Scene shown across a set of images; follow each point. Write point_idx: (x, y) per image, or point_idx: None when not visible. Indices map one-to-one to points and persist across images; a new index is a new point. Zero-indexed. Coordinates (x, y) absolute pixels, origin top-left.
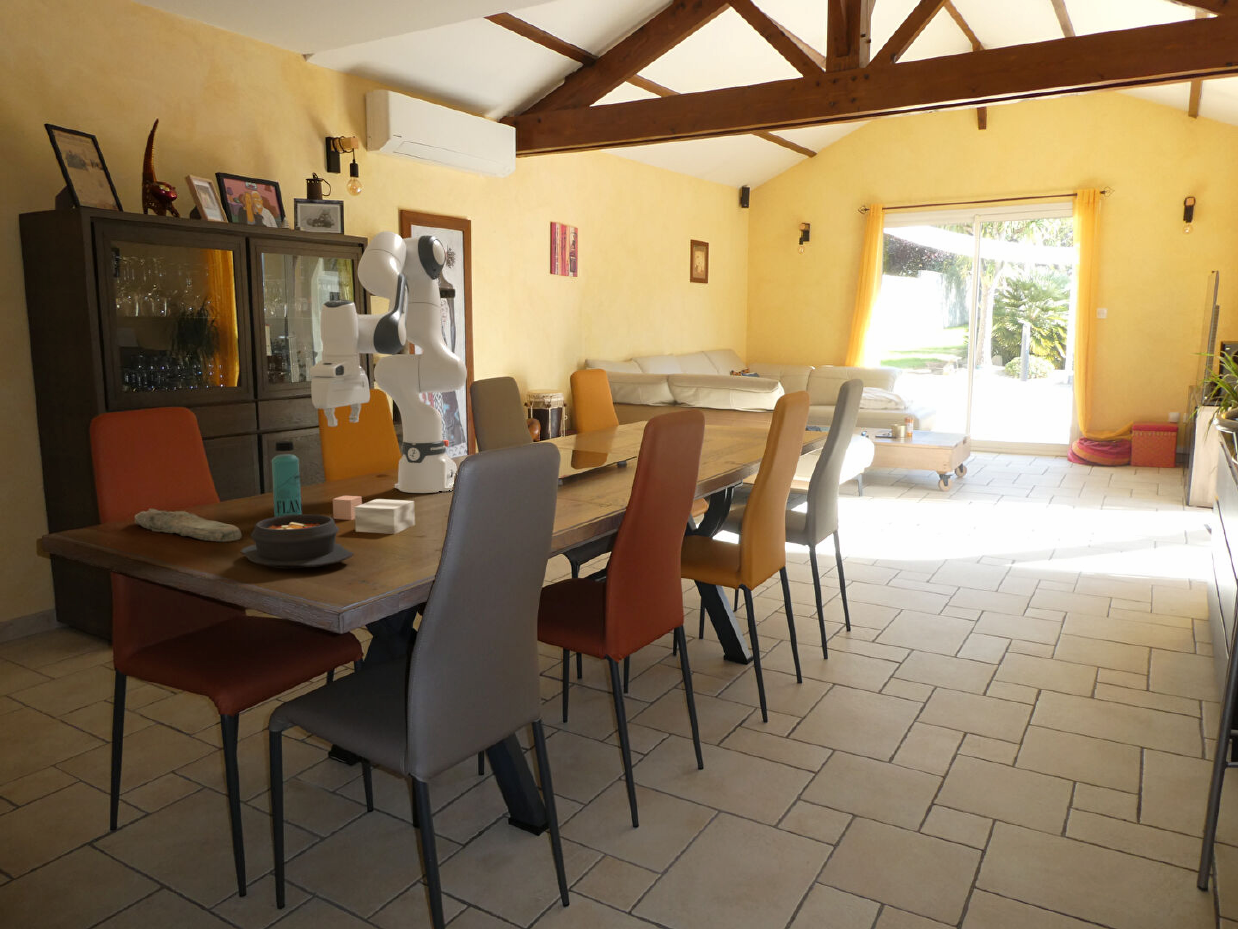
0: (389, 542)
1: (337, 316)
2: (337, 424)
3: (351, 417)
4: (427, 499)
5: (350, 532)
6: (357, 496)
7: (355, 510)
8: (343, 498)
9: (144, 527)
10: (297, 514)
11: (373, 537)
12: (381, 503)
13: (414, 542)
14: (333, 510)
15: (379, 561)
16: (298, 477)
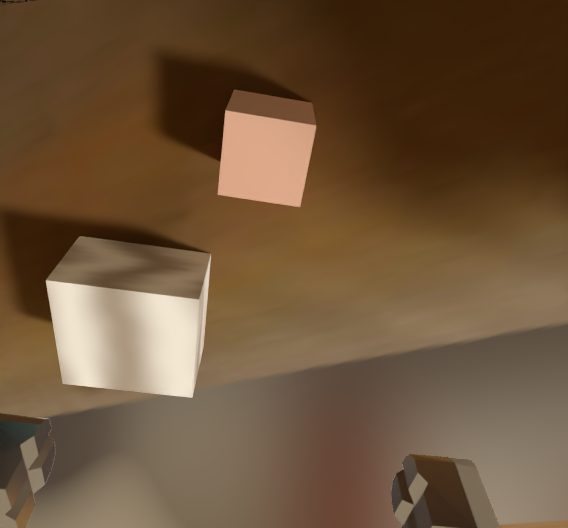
0: (7, 346)
1: None
2: (45, 472)
3: (415, 516)
4: (565, 288)
5: (60, 226)
6: (298, 191)
7: (51, 275)
8: (248, 152)
9: None
10: None
11: (34, 300)
12: (129, 334)
13: (32, 387)
14: (231, 98)
15: None
16: (10, 1)
